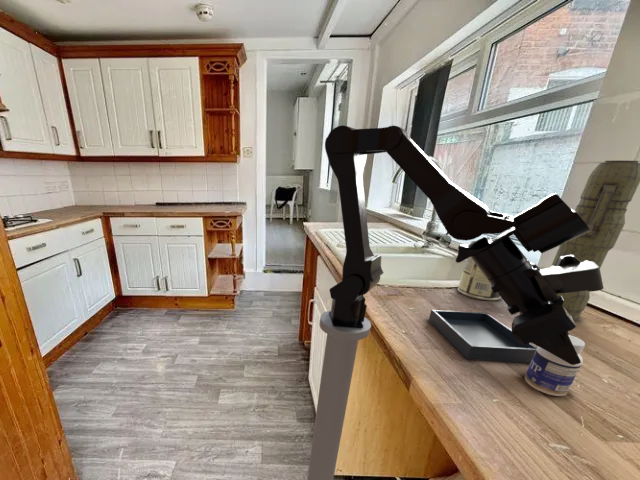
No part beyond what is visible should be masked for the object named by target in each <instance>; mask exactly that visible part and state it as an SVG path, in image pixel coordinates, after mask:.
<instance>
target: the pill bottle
mask: <svg viewBox="0 0 640 480" xmlns="http://www.w3.org/2000/svg"><path fill="white" fill-rule="evenodd" d="M568 336H569V338H570V340H571V342H572V344H573V346H574V348H575V350H576V352H577V354H578V357H579V359H580V361H581V363H579V364H575V365H571V364H569V363H567V362H566V361H564V360H562V359H560V358H559V357H557V356H555V355H553V354H552V353H550V352H548V351H546V350H544V349H543V348H541V347H539V346H536V347H537V349H536V352H535V354H534V356H533V358H532V360H531V363H529V365H528V368H527V370H526V373H525V374H524V380H525V382H526V383H527V384H528V386H530V387H531V388H533V389H534V390H536V391H539V392H541V393H544V394H546V395H550V396H555V397H563V396H566V395H567V394H568V393H569V390H570V388H571V386H572V384H573V382H574V380H575V378H576V377H577V375H578V372H579V371H580V369H581V367H582V365H583V363H584V359H583V356H582V355H581V354H582V352H583V350H584V348H585V346H586V343H585V341H584V340H583V339H580V338H579V337H576V336H574V335H571V334H569V335H568Z"/></svg>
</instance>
